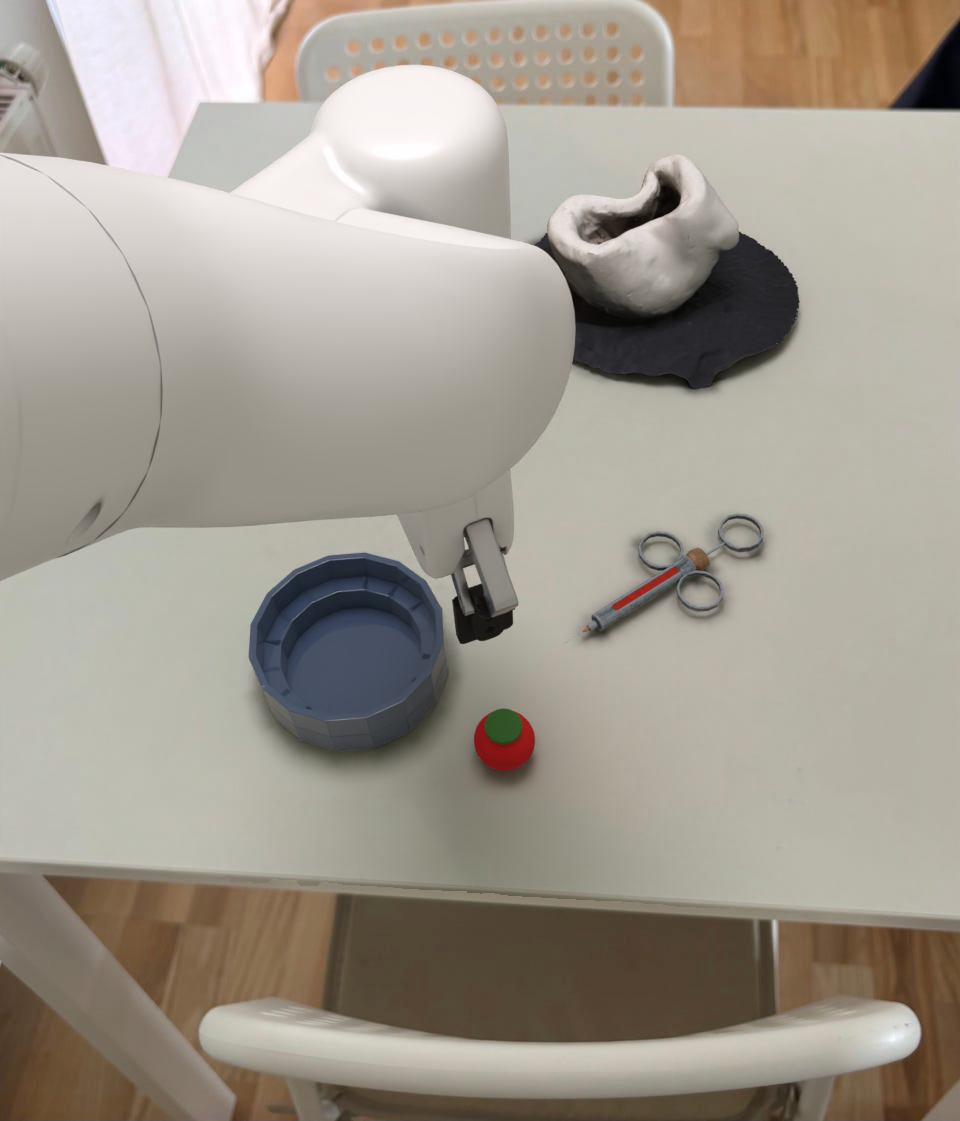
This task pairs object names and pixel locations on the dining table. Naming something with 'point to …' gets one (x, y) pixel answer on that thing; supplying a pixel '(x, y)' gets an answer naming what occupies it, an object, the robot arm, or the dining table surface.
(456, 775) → the dining table surface
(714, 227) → the sculpture
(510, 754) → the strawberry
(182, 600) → the dining table surface
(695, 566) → the syringe
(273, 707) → the bowl
